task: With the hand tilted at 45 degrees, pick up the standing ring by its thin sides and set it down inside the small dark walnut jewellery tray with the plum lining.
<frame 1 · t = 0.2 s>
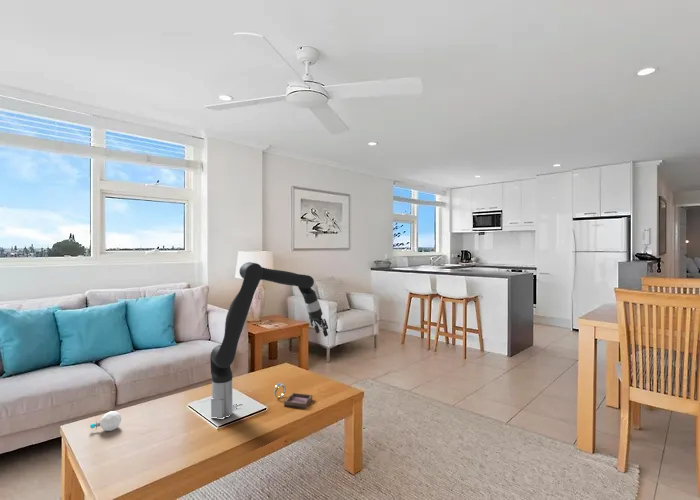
hand: (322, 334, 211), 31 cm above the table, fingers open, 8 cm apart
jewellery tray: (298, 403, 193), on the table
perfume bottle: (106, 430, 164), on the table
ring: (279, 398, 199), on the table
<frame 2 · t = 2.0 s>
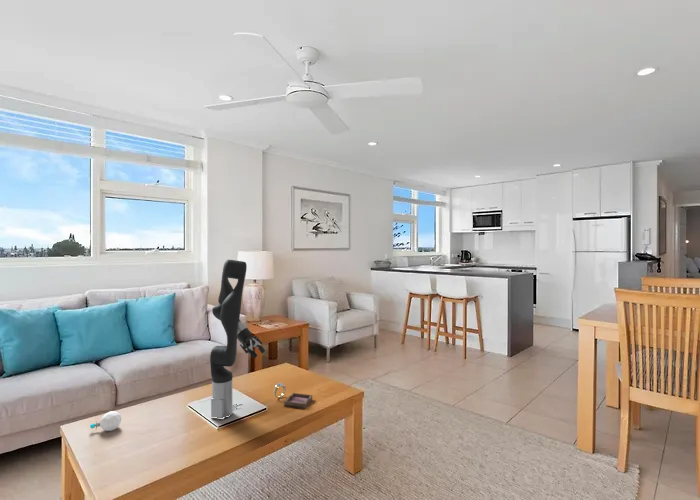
hand: (260, 354, 201), 22 cm above the table, fingers open, 8 cm apart
nothing on the table moved.
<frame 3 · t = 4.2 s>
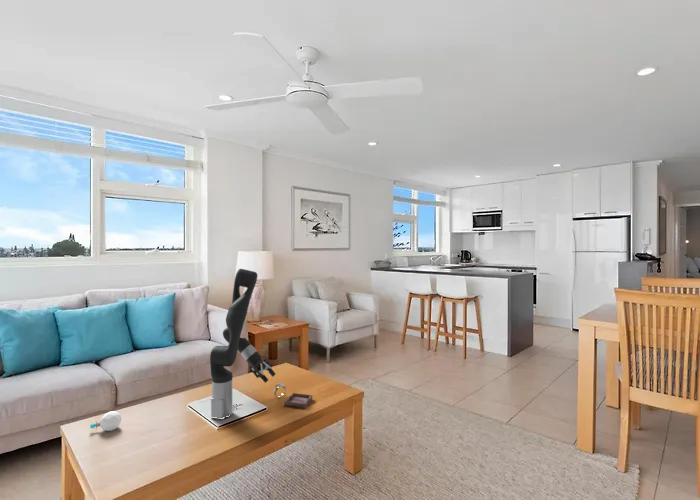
hand: (270, 378, 200), 10 cm above the table, fingers open, 8 cm apart
nothing on the table moved.
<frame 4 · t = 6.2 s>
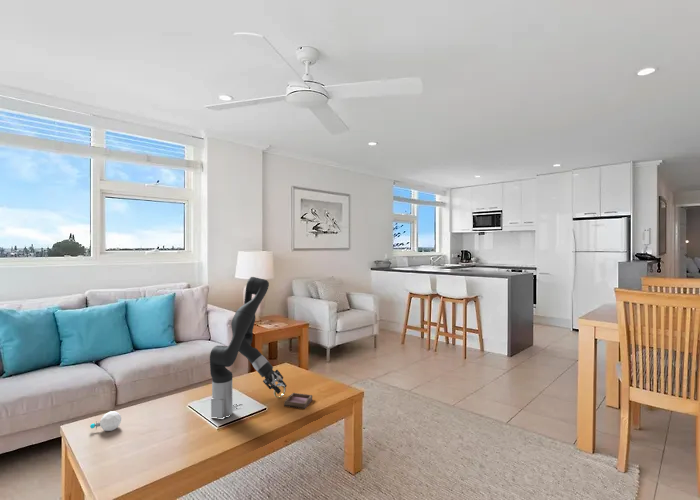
hand: (282, 389, 198), 4 cm above the table, fingers closed on ring, 6 cm apart
ring: (279, 398, 199), on the table, touching gripper
everything else where it was.
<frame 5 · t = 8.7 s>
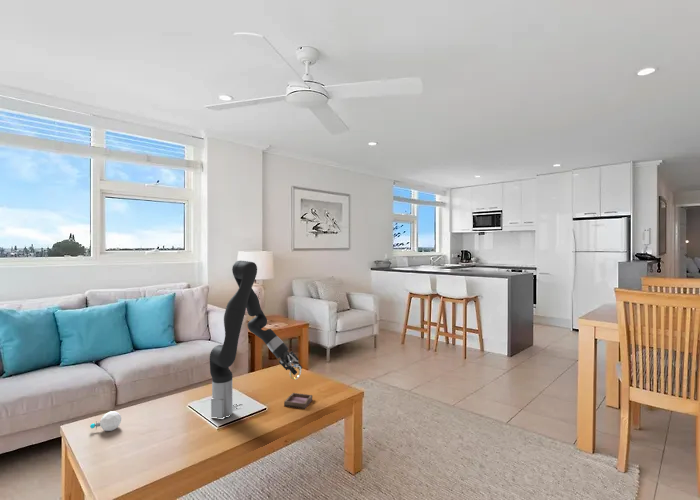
hand: (298, 371, 193), 16 cm above the table, fingers closed on ring, 6 cm apart
ring: (295, 379, 194), point 12 cm above the table, touching gripper
everything else where it was.
when the fingers open (7 cm above the table, at t = 11.3 s): ring drops 1 cm, resting on jewellery tray.
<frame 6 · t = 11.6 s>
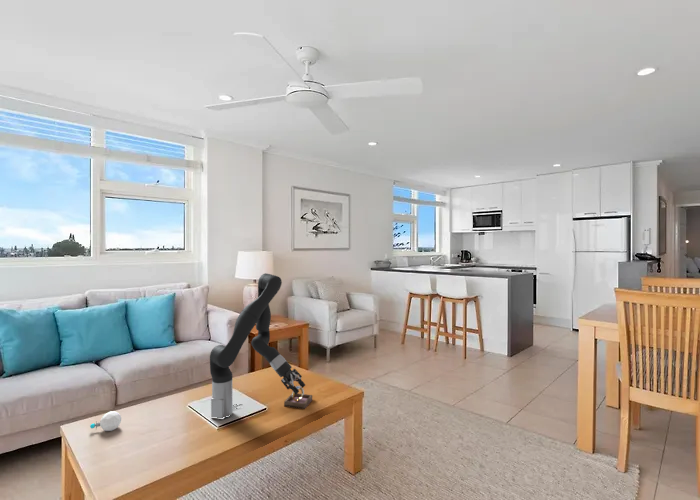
hand: (301, 389, 192), 7 cm above the table, fingers open, 8 cm apart
ring: (298, 401, 192), point 1 cm above the table, touching jewellery tray
everything else where it was.
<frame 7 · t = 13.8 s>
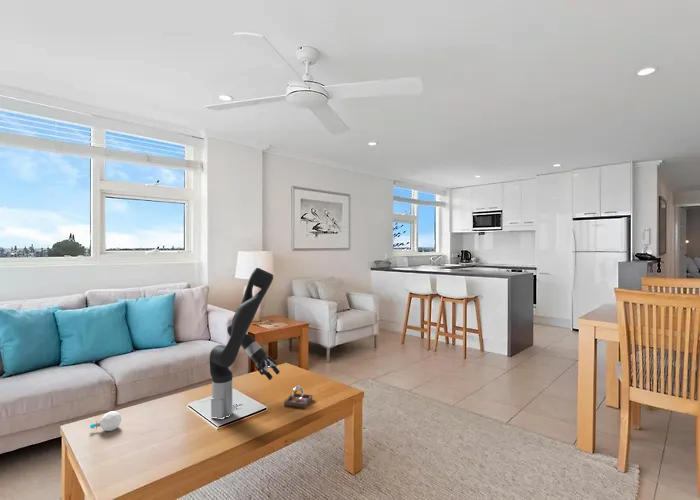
hand: (275, 376, 196), 13 cm above the table, fingers open, 8 cm apart
nothing on the table moved.
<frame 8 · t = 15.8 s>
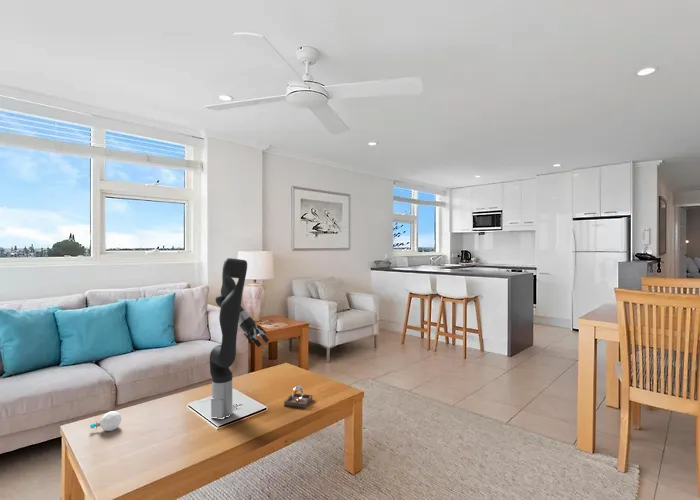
hand: (264, 343, 199), 29 cm above the table, fingers open, 8 cm apart
nothing on the table moved.
at the end: ring inside the target area on the jewellery tray (0.4 cm from its centre), point 0.8 cm above the jewellery tray's base; the gripper is holding nothing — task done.
